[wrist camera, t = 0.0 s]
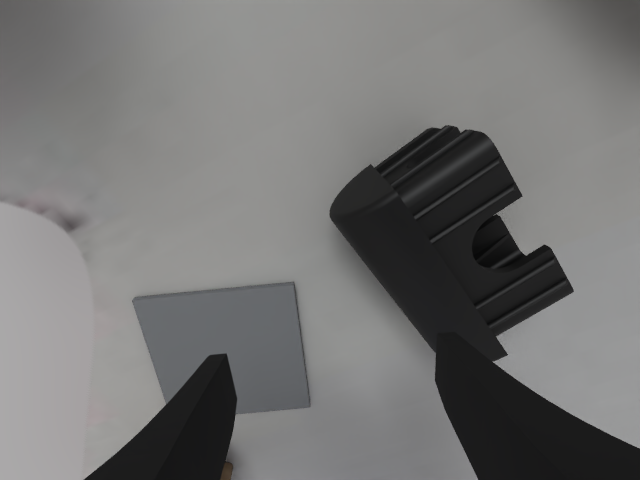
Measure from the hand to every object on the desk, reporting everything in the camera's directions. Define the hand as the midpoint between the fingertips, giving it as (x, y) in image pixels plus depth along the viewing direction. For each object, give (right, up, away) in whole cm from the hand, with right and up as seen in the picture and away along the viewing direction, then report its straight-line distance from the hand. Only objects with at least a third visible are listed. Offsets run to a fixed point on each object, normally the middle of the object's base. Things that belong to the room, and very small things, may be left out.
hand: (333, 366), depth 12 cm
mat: (-7, -3, +12) cm, 14 cm away
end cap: (+6, +5, +9) cm, 12 cm away
